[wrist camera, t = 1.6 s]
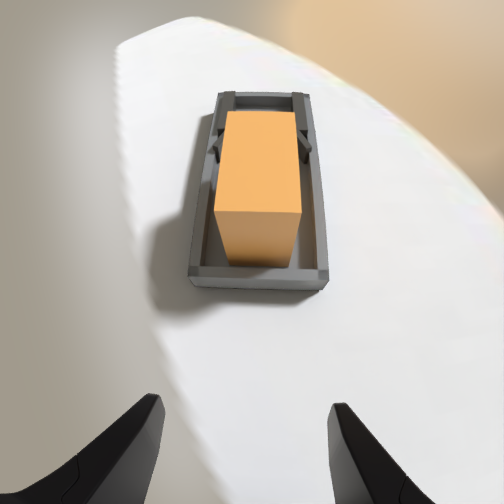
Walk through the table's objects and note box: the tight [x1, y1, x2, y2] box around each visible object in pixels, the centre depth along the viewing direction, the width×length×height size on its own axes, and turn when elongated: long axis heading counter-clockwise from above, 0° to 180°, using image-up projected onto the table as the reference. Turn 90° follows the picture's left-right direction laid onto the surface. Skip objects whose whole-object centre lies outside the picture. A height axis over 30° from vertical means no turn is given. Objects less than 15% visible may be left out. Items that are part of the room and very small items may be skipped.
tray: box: [188, 91, 329, 290], centre depth 25 cm, size 21×10×3 cm, turn 178°
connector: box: [214, 111, 302, 267], centre depth 20 cm, size 10×4×8 cm, turn 178°
